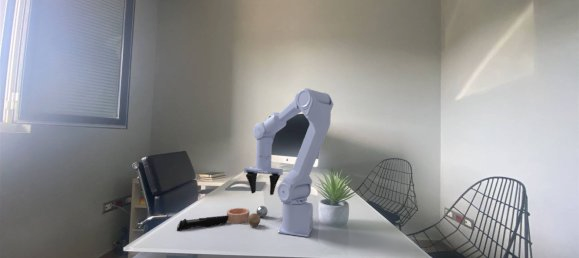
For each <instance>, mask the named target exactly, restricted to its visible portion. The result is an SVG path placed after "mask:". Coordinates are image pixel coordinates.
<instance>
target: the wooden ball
mask: <svg viewBox="0 0 579 258" xmlns="http://www.w3.org/2000/svg"><path fill="white" fill-rule="evenodd" d="M247 223H248V225H250V226H251V227H253V228H254V227H258V225H260V223H261V217H260V216H259V215H258V214H257V212H256V213H255V212H253V213H251V214H249V218H248V221H247Z"/></svg>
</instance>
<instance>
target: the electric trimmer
mask: <svg viewBox="0 0 579 258" xmlns="http://www.w3.org/2000/svg"><path fill="white" fill-rule="evenodd" d="M226 215H227V214H226ZM226 215H219V216H216V215H215V216H209V217H206V216H205V217H199V218H195V219H193V218H192V219H186V218H184V219H183V220H182V219H180V220H179V223H178V224H177V226H176V231H177V232H181V231H182V230H188V229H194V228H200V227H201V228H202V227H205V228H209V227H214V226H217V225H224V224H227V223H228V222H227V221H228V217H229V216H228V215H227V216H226Z"/></svg>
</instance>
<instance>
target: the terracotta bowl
mask: <svg viewBox="0 0 579 258" xmlns="http://www.w3.org/2000/svg"><path fill="white" fill-rule="evenodd" d="M250 212H251V211H250V210H249V208H244V207H234V208H230V209H228V210H226V215H225V216H227V215H228V216H229V217H228V221H227V222H226V223H230V224H242V223H246V222H248V218H249V216H250Z"/></svg>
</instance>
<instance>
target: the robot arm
mask: <svg viewBox="0 0 579 258" xmlns="http://www.w3.org/2000/svg"><path fill="white" fill-rule="evenodd" d="M333 107H334V102H333V100H332V97H331V96H330V94H329V93H327V92H321V91H317V90H313V89H311V88H308V87H305V88H302V89H301V90H299V92H297V93H296V94H295V96H294V99H293V100H292V101H291V102H290V103H289V104H287V106H286V107H285V108H283V110H282V111H280V112H273V113H271V115H270V117H268V118H267V119H265V120H264V121H263V122H256V124H255V125H254V127H253V132H252V133H253V136H254V138H255V139H256V141H255V142H256V143H255V144H256V145H255V166H245V167H243V172H244V173H245V177H246V179H247V182H248V184H249V187H250V188H249V189H250V192H251V194H255V193H256V191H257V190H256V189H257V179H258V174H263V175H269V185H270V186H269V196H273V195H274V194H275V189H276V186H277V183H278V181H279V179H280V177H281V176H283V174H284V169H283V168H275V167H272V156H273V155H272V149H273V146H272V145H273V143H274V139H275V136H276V133H278V132H279V131H280V130H282V129H283V128H284V127H286V125H287V121H289V120H291V119H292V118H293V117H294V118H295V116H297V115H299V114H300V113H301V112H302V114H303V115H304V117H305V118H306V119H307V120H308V123H309V125H308V128H307V131H306V134H305V136H304V138H303V140H302V143H301V147H300V149H299V151H298V154H297V157H296V160H295V161H294V165H293V168H291V169H292V170H290V171H289V172H288V173H286V174H285V175H284V177H283V179H282V180H281V182H279V184H278V187H277V196H278V197H279V200H280V202H281V203H282V214H281V215H282V219H281V222H282V223H281V226H280V227H279V229H278V230H277V233H278V234H284V235H289V236H290V235H292V236H298V237H306V238H309V236H310V235H311V233H312V230H313V228H314V227H313V221H314V217H313V215H314V207H313V205H314V204H313V203H311V202H307V201H308V197H309V196H310V195H311V193H312V183H313V179H312V177H310V175H311V172H312V169H313V167H314V165H315V162H316V160H317V158H318V156H319V153H320V150H321V148H322V146H323V143H324V141H325V138H326V136H327V133H328V131H329V129H330V126H331V116H332V114H331V111H332V109H333Z"/></svg>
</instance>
